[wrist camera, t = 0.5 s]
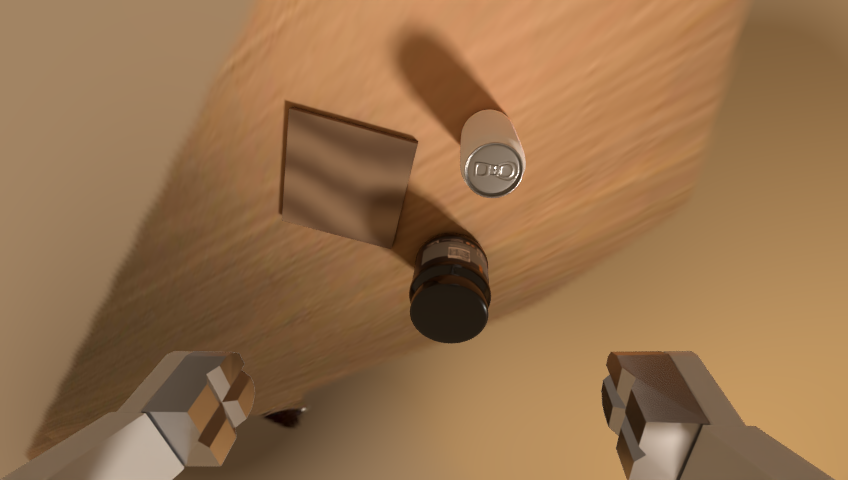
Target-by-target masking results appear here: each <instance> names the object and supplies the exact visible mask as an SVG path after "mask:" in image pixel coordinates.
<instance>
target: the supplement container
mask: <svg viewBox="0 0 848 480" xmlns="http://www.w3.org/2000/svg"><path fill="white" fill-rule="evenodd" d="M409 298H410V303H411V307H410V317H411V320H412V322H413V324H414V326H415V327H416V329H417V330H418V331H419V332H420V333H421V334H423V335H424V336H426V337H427V338H429V339H432V340H434V341H437V342H442V343H460V342H464V341H467V340H470V339H472V338H474V337H475V336H477V335H478V334H479V333H480V332H481V331H482V330H483V329H484V327H485V326H486V323H487V321H488V308H489V305H490V301H491V291H490V287H489V279H488V261H487V257H486V254H485V252H484V251H483V249H482V248H481V246H480V245H479V244H478V243H477V242H475V241H474V240H473V239H471V238H469V237H467V236H464V235H461V234H454V233H447V234H441V235H438V236H435V237H433V238H431V239H430V240H428V241H427V242H426V243H425V244H424V245H423V246H422V247H421V248H420V250H419V252H418V254H417V257H416V261H415V270H414V275H413V280H412V283H411V286H410V290H409Z"/></svg>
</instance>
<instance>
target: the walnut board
mask: <svg viewBox="0 0 848 480" xmlns="http://www.w3.org/2000/svg"><path fill="white" fill-rule="evenodd" d="M417 144H418V141H414V140H411V139H407V138H404V137H400V136H396V135H393V134H389V133H386V132H382V131H378V130H375V129H371V128H368V127H364V126H360V125H357V124H353V123H350V122H346V121H342V120H339V119H335V118H332V117H328V116H324V115H321V114H317V113H314V112H310V111H306V110H303V109H299V108H296V107H291V108H289V117H288V133H287V149H286V164H285V180H284V195H283V211H282V221H285V222H289V223H293V224H297V225H301V226H304V227H308V228H312V229H316V230H320V231H324V232H327V233H331V234H335V235H339V236H343V237H346V238H350V239H354V240H358V241H362V242H366V243H369V244H373V245H377V246H381V247H385V248H388V249H391V248H392V245H393V241H394V237H395V233H396V229H397V225H398V221H399V217H400V213H401V209H402V205H403V201H404V197H405V193H406V189H407V185H408V181H409V177H410V173H411V169H412V165H413V161H414V157H415V153H416V149H417Z"/></svg>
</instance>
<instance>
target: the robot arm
mask: <svg viewBox="0 0 848 480" xmlns="http://www.w3.org/2000/svg"><path fill="white" fill-rule="evenodd" d="M244 364H245V363H244V361H243V359H242V358H241V356H240V354H239V353H234V352H206V351H174V352H172V353H170V354H168V355H166V356H165V357H164V358H163V360H162V361H161V362H160V363H159V364H158V365H157V366H156V368H155V369H154V370H153V371H152V372H151V373H150V374H149V376H148V377H147V378H146V379H145V380H144V381H143V382H142V384H141V385H140V386H139V387H138V388H137V389H136V390H135V392H134V393H133V394H132V395H131V396H130V397H129V398H128V400H127V401H126V402H125V403H124V404H123V405H122V406H121V408H120V409H119V410H118V411H117V412H109V413H108V414H106V415H105V416H103V417H101V418H100V419H98V420H96V421H95V422H93V423H91V424H90V425H88V426H87V427H85V428H83V429H82V430H80V431H78V432H77V433H75V434H73V435H72V436H70V437H69V438H67V439H65V440H64V441H62V442H60V443H59V444H57V445H55V446H54V447H52V448H51V449H49V450H47V451H46V452H44V453H42V454H41V455H39V456H37V457H36V458H34V459H33V460H31V461H29V462H28V463H26V464H24V465H23V466H21V467H19V468H18V469H16V470H15V471H13V472H11V473H10V474H8V475H6V476H5V477H3V478H1V479H0V480H172V479H173V478H174V477H176V476H177V475H178V474H179V473H180V472H181V471H182V470H183V469H184V467H183V466H221V465H222V463H223V461H224V459H225V458H226V456H227V454H228V452H229V450H230V448H231V447H232V445H233V443H234V441H235V439H236V431H235V427H236V426H238V425H239V424H240V423H242V422H243V421H244V420H245V419H246V418H247V417H248V415H249V413H250V411H251V409H252V406H253V402H254V397H255V388H254V383H253V381H252V378H251V377H250V376H249V375H248V374H246V373H245V372H244V371H242V368H243V366H244ZM606 366H607V368H608V371H609V373H610V375H609V376H607V377H606V378H605V379H604V380H603V385H602V391H601V392H602V406H603V410H604V414H605V418H606V421H607V424H608V427H609V428H610V429H611V430H612V431H614V432H615V433H616V434H617V435H618V436H619V438H618V442H617V446H616V450H617V453H618V455H619V458H620V461H621V464H622V467H623V470H624V472H625V475H626V478H627V480H835V479H833V478H831V477H830V476H829V475H827V474H826V473H824V472H823V471H821V470H820V469H818V468H817V467H815V466H814V465H812V464H811V463H809V462H808V461H806V460H805V459H803V458H802V457H801V456H799V455H797V454H796V453H794V452H793V451H792V450H790V449H789V448H787V447H786V446H784V445H782V444H781V443H780V442H778V441H777V440H775V439H774V438H772V437H771V436H769V435H768V434H766V433H765V432H763V431H762V430H760V429H759V428H757V427H756V426H746V425H745V423H744V422H743V420H742V419H741V418H740V416H739V415H738V413H737V412H736V410H735V409H734V407H733V406H732V405H731V403H730V402H729V400H728V399H727V397H726V396H725V395H724V393H723V391H722V390H721V389H720V387H719V386H718V384H717V383H716V382H715V380H714V378H713V377H712V376H711V374H710V373H709V371H708V370H707V369H706V367H705V365H704V364H703V362H702V361H701V360H700V358H699V357H698V355H696V354H695V353H693V352H692V351H665V352H661V351H650V352H649V351H648V352H647V351H645V352H643V351H642V352H611V353H610V354H609V356H608V359H607V364H606Z"/></svg>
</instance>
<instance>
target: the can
mask: <svg viewBox="0 0 848 480" xmlns="http://www.w3.org/2000/svg"><path fill="white" fill-rule="evenodd" d="M525 164H526V161H525V154H524V151H523V148H522V146H521V143H520V141H519V138H518V136H517V133H516V131H515V128H514V126H513V124H512V122H511V120H510V119H509V118H508V117H507V116H506V115H505V114H503V113H502V112H499V111H497V110H482V111H479V112H477V113H475V114H473V115H472V116H471V117H470V118H469V119H468V120H467V121H466V123H465V124H464V126H463V129H462V133H461V146H460V170H461V174H462V177H463V179H464V181H465V182H466V184H467V185H468V186H469V187H470V189H471V190H472V191H474V192H475V193H476V194H478V195H480V196H483V197H487V198H498V197H502V196H505V195H507V194H509V193H510V192H512V191H513V190H514V189H515V188H516V187H517V186H518V184H519V183H520V181H521V179H522V176H523V174H524V171H525Z"/></svg>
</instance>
